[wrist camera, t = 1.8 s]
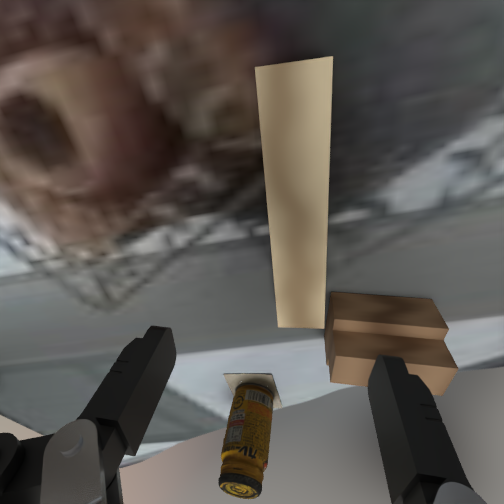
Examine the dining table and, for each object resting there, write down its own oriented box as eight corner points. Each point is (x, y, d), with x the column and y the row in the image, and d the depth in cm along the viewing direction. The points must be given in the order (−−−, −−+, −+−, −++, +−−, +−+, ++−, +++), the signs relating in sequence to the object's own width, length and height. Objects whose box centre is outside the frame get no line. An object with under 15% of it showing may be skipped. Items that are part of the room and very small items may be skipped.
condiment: (238, 405, 45) (220, 499, 35) (223, 373, 41) (198, 469, 31) (282, 406, 43) (276, 506, 33) (272, 372, 39) (261, 475, 29)
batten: (326, 59, 19) (332, 56, 16) (321, 297, 31) (324, 328, 27) (263, 68, 20) (254, 67, 17) (281, 297, 32) (278, 327, 28)
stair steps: (431, 299, 28) (465, 357, 22) (412, 344, 32) (437, 404, 26) (331, 291, 30) (338, 344, 24) (324, 336, 34) (328, 391, 28)
